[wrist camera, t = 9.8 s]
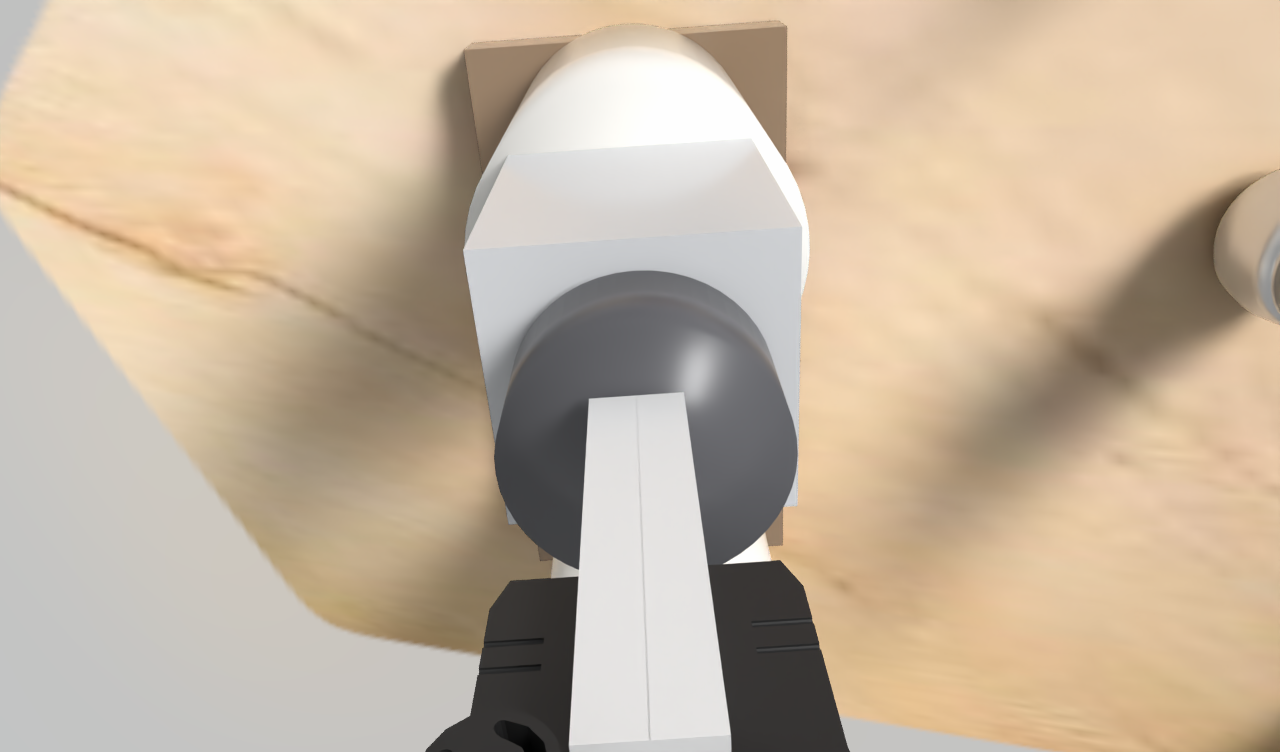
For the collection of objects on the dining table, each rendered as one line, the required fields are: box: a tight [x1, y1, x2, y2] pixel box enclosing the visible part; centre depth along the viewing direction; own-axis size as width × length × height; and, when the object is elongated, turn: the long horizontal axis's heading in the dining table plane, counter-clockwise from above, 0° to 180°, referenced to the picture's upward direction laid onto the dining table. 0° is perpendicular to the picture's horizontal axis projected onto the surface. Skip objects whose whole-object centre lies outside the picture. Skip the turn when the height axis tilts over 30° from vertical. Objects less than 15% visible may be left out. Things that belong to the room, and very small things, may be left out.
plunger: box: [494, 270, 798, 570], centre depth 19 cm, size 5×5×9 cm
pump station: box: [463, 21, 810, 578], centre depth 31 cm, size 25×12×22 cm, turn 4°
